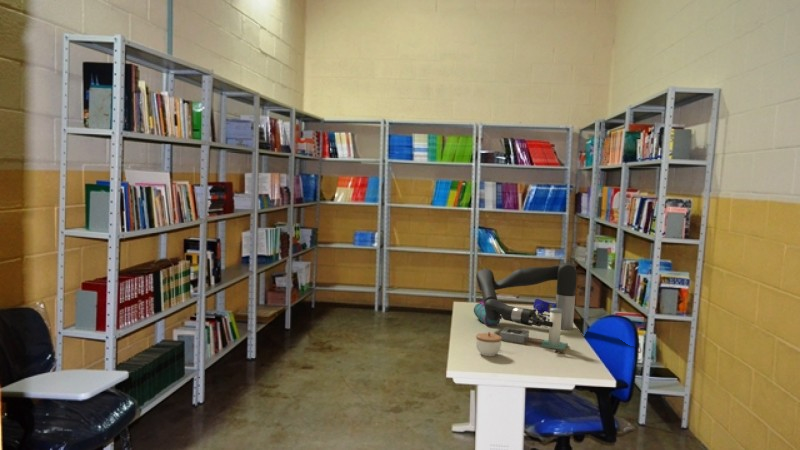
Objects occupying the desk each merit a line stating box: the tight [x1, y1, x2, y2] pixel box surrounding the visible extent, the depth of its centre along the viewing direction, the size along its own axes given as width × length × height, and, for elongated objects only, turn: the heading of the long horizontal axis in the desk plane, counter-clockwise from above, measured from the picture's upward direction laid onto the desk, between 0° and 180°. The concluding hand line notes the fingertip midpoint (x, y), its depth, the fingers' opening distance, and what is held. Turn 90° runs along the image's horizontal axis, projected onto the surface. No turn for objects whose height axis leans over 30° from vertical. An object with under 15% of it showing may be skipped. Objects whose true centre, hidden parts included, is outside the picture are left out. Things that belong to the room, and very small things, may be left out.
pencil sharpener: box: [532, 298, 556, 321], centre depth 301 cm, size 14×18×13 cm
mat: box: [541, 339, 567, 350], centre depth 255 cm, size 10×10×1 cm
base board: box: [501, 336, 569, 354], centre depth 260 cm, size 14×30×1 cm, turn 65°
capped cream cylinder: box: [547, 308, 562, 346], centre depth 255 cm, size 5×5×16 cm
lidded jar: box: [475, 332, 502, 357], centre depth 241 cm, size 11×11×9 cm
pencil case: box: [473, 300, 503, 327], centre depth 295 cm, size 21×9×10 cm, turn 9°
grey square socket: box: [499, 326, 530, 345], centre depth 263 cm, size 11×11×4 cm
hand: (556, 323), depth 255 cm, fingers open, 8 cm apart
